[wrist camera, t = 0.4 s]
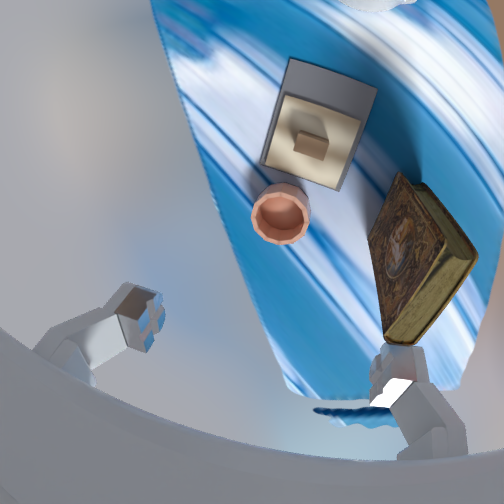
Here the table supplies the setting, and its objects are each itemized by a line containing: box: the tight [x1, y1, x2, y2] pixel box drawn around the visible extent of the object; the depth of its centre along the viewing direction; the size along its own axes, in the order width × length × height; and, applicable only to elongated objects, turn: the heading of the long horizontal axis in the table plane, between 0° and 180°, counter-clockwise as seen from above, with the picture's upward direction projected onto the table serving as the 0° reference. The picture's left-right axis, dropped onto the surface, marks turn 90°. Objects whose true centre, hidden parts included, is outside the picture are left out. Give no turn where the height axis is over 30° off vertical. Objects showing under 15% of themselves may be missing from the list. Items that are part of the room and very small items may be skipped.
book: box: [367, 172, 478, 346], centre depth 40 cm, size 16×6×25 cm, turn 168°
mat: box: [260, 59, 378, 192], centre depth 45 cm, size 20×15×1 cm
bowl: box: [251, 182, 311, 245], centre depth 53 cm, size 10×10×5 cm
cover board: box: [265, 95, 361, 189], centre depth 45 cm, size 13×13×5 cm
